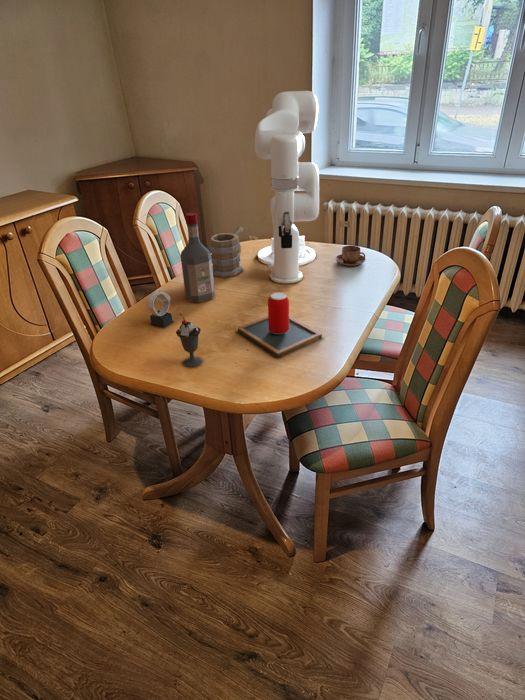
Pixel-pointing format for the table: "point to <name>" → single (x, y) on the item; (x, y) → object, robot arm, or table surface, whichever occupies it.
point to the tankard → (226, 254)
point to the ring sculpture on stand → (159, 316)
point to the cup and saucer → (351, 256)
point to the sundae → (189, 341)
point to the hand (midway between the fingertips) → (285, 242)
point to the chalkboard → (279, 336)
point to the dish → (304, 253)
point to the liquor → (196, 265)
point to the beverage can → (278, 313)
